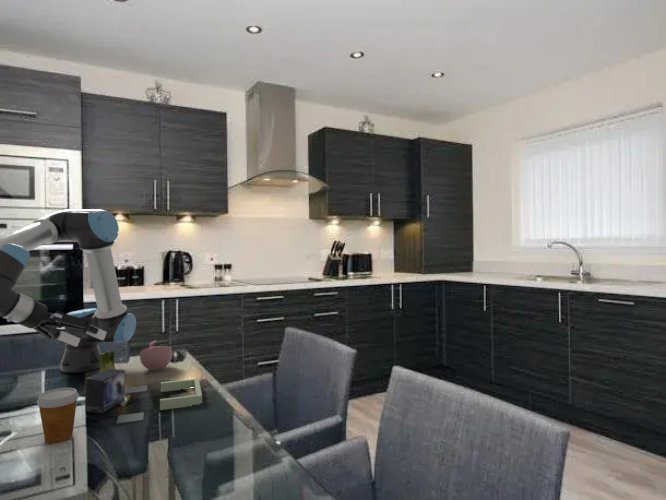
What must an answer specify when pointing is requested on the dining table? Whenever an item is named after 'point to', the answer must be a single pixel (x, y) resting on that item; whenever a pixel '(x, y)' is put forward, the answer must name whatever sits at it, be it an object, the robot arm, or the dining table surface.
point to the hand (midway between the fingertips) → (91, 339)
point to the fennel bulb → (107, 360)
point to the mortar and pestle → (156, 356)
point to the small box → (105, 390)
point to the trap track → (168, 402)
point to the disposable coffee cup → (58, 413)
